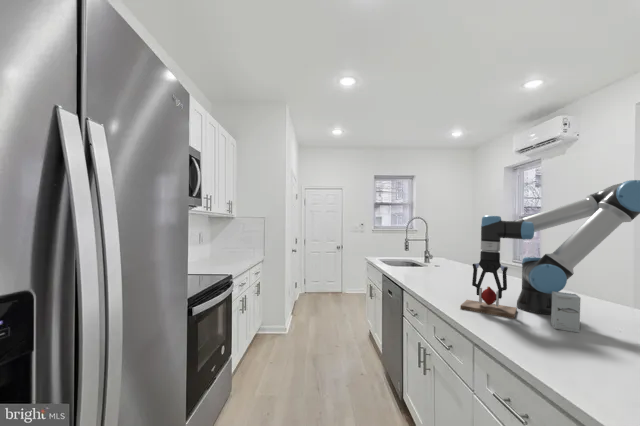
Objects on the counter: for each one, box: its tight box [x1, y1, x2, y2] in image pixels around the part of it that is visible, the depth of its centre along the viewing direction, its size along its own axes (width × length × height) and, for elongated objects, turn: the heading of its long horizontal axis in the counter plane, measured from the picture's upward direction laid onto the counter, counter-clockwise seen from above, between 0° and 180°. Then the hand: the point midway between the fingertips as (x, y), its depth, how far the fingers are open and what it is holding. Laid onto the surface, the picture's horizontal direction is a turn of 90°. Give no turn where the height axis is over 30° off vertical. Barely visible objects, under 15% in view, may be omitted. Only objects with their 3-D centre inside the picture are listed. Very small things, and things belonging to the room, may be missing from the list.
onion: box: [482, 286, 496, 305], centre depth 139 cm, size 6×6×8 cm
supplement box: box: [550, 291, 581, 334], centre depth 117 cm, size 7×7×13 cm
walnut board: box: [459, 299, 518, 319], centre depth 138 cm, size 20×14×2 cm
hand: (488, 304), depth 138 cm, fingers closed on onion, 6 cm apart
